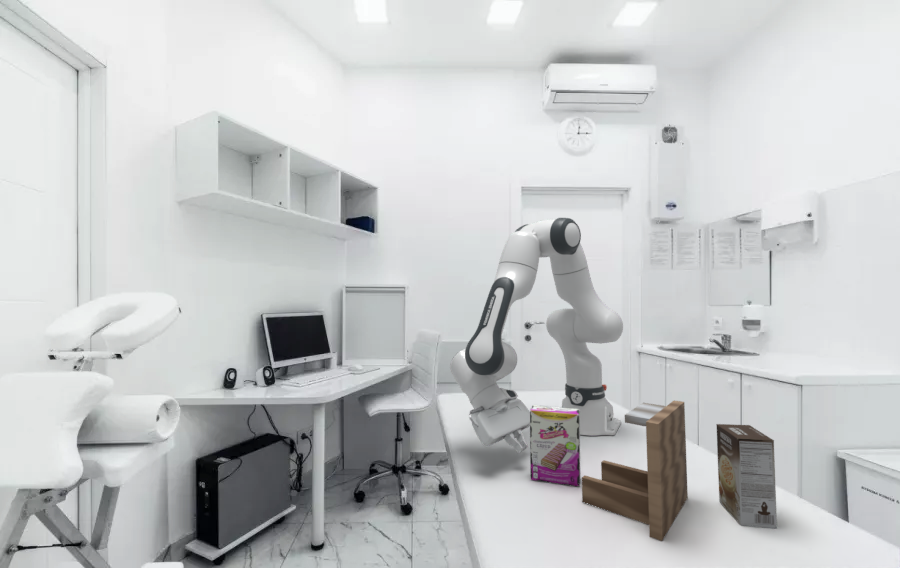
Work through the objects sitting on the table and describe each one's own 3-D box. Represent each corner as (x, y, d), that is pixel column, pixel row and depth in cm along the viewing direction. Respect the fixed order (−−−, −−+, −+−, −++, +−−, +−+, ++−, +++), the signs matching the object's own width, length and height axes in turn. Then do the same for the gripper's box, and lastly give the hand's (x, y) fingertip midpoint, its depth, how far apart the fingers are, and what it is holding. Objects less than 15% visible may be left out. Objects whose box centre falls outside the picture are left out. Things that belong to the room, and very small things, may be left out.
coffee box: (717, 501, 82) (714, 422, 83) (752, 504, 81) (749, 424, 82) (740, 526, 73) (736, 437, 74) (780, 529, 72) (776, 439, 73)
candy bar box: (530, 481, 93) (528, 409, 93) (532, 472, 97) (531, 404, 98) (580, 488, 89) (579, 413, 90) (581, 478, 94) (579, 407, 94)
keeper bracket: (610, 476, 95) (608, 391, 96) (687, 498, 84) (684, 401, 85) (573, 509, 80) (571, 408, 81) (662, 541, 69) (658, 424, 70)
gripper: (472, 404, 97) (507, 455, 90) (518, 389, 112) (550, 432, 105) (459, 419, 100) (491, 470, 93) (505, 403, 115) (536, 445, 108)
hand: (523, 449), depth 99 cm, fingers closed
